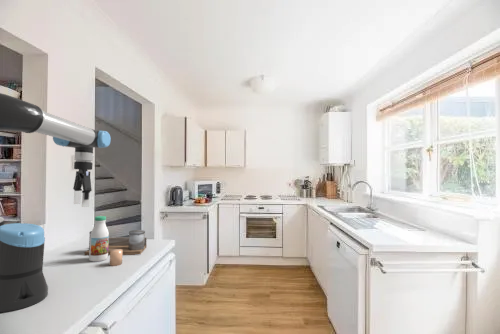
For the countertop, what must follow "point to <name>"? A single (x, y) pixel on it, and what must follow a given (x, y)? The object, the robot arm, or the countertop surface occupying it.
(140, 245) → the rack
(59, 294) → the countertop surface
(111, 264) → the peach rounded cylinder
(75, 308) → the countertop surface
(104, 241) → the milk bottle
